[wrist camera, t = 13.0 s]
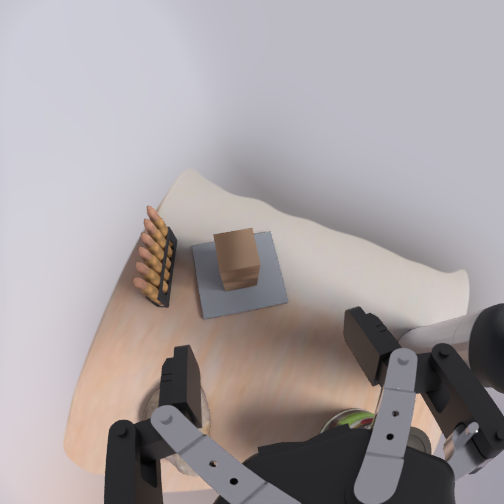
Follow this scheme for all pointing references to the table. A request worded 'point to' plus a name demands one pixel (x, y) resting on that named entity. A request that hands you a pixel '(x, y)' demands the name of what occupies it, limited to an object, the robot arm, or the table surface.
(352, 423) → the coffee can
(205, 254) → the slate mat
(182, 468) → the rock
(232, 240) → the walnut block
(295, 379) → the table surface
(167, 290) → the ammunition clip
